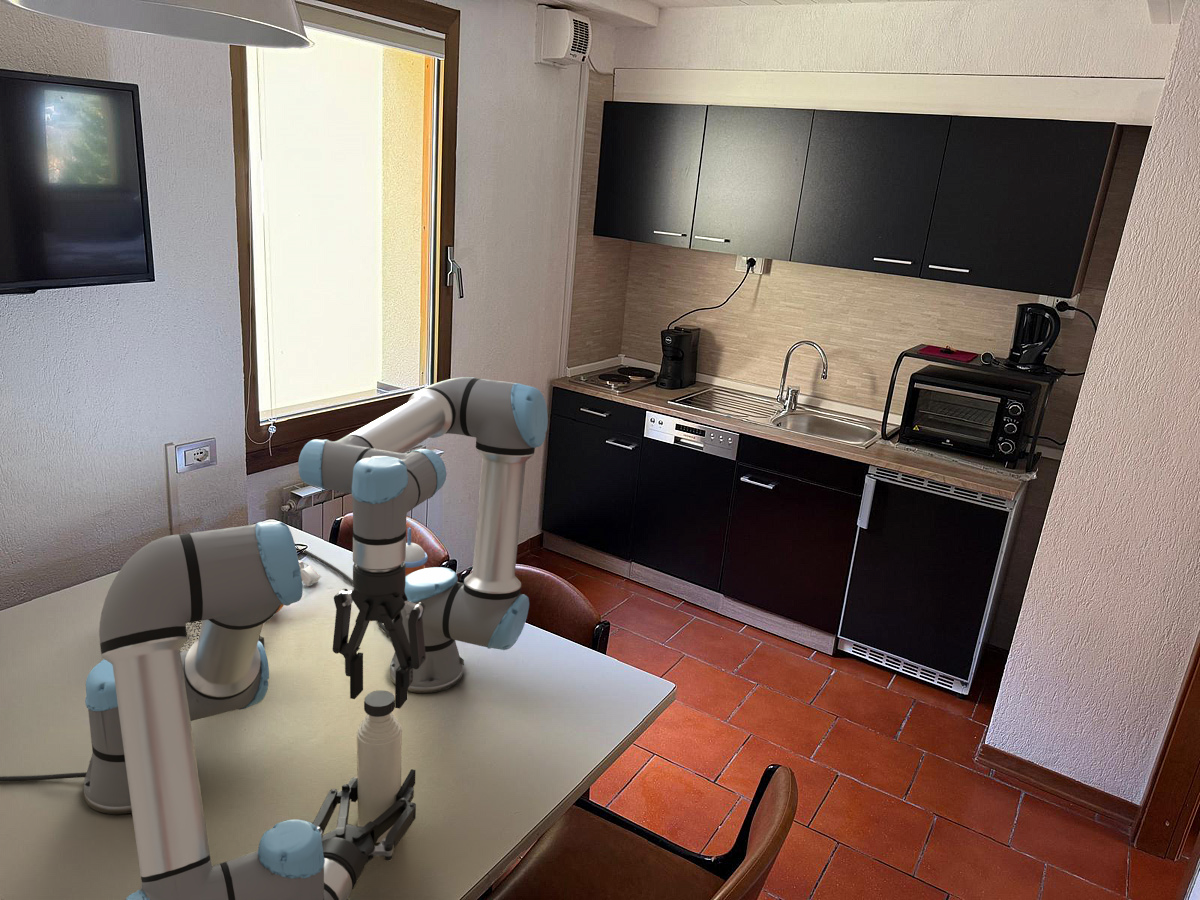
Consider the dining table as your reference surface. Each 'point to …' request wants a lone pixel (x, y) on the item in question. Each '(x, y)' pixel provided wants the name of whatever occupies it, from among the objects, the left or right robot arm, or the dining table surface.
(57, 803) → the dining table surface
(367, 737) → the bottle
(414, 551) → the cup with straw
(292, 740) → the dining table surface
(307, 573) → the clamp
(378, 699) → the cap
